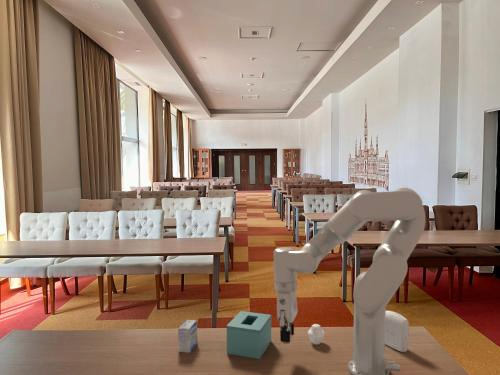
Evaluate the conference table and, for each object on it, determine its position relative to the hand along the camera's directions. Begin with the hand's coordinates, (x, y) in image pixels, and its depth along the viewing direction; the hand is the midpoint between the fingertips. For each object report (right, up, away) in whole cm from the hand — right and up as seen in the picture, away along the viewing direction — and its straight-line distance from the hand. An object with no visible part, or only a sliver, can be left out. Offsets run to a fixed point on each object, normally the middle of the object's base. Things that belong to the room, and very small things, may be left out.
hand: (287, 337), depth 134 cm
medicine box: (-35, -7, +9) cm, 37 cm away
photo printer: (+39, -7, +9) cm, 41 cm away
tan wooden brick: (0, -1, 0) cm, 1 cm away
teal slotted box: (-13, -7, +9) cm, 17 cm away
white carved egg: (+12, -7, +12) cm, 18 cm away
